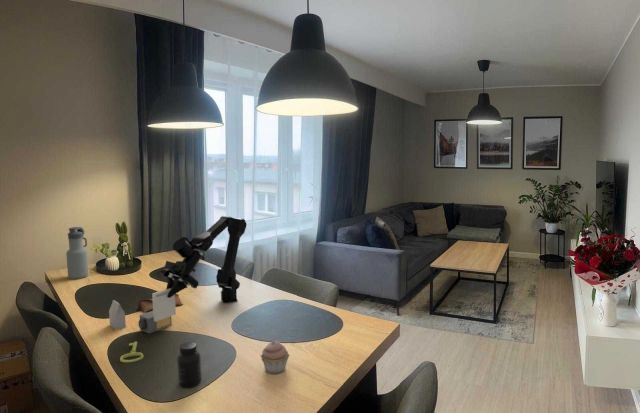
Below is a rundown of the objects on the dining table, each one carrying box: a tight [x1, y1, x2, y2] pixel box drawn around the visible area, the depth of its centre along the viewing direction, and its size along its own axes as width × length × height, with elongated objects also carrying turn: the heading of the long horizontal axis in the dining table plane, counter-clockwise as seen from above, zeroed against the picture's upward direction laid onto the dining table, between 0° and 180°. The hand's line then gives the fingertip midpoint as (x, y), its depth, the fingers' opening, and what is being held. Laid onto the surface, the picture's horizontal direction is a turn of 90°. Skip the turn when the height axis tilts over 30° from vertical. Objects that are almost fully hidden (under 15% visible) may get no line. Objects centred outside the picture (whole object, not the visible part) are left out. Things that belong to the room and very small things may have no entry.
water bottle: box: [66, 226, 89, 280], centre depth 227 cm, size 10×10×28 cm
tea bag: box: [108, 299, 127, 331], centre depth 164 cm, size 4×7×10 cm, turn 46°
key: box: [119, 341, 144, 363], centre depth 142 cm, size 7×12×2 cm, turn 35°
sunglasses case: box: [138, 293, 184, 314], centre depth 186 cm, size 18×7×7 cm, turn 125°
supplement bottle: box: [176, 341, 203, 389], centre depth 124 cm, size 7×7×12 cm
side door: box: [151, 288, 177, 322], centre depth 161 cm, size 9×2×11 cm, turn 144°
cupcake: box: [260, 339, 290, 375], centre depth 132 cm, size 9×9×10 cm
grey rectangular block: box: [137, 311, 173, 334], centre depth 163 cm, size 11×6×6 cm, turn 144°
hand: (166, 296), depth 162 cm, fingers closed on side door, 2 cm apart
